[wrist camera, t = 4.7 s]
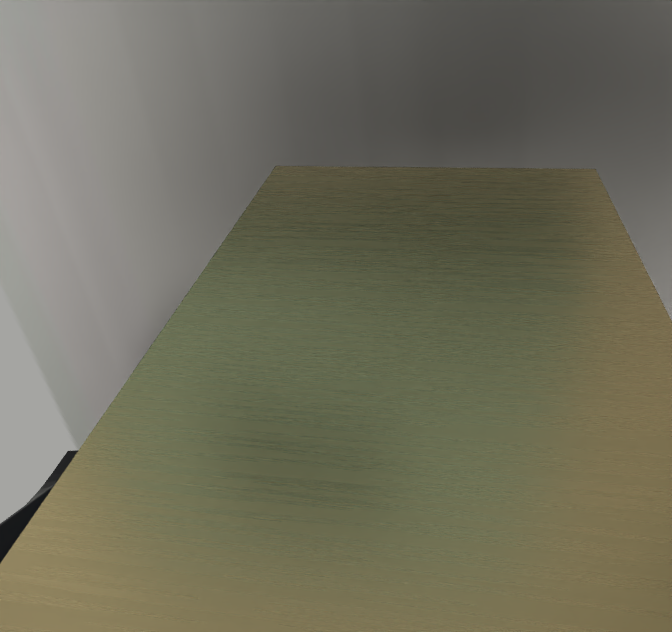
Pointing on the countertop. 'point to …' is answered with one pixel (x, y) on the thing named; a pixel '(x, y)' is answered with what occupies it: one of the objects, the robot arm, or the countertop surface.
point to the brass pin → (381, 425)
